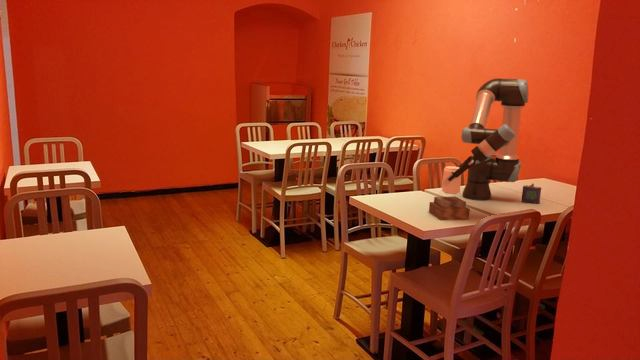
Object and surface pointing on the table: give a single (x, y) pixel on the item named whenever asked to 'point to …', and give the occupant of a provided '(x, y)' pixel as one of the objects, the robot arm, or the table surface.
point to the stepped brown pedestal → (449, 208)
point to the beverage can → (455, 184)
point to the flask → (531, 194)
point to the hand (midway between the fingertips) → (444, 182)
